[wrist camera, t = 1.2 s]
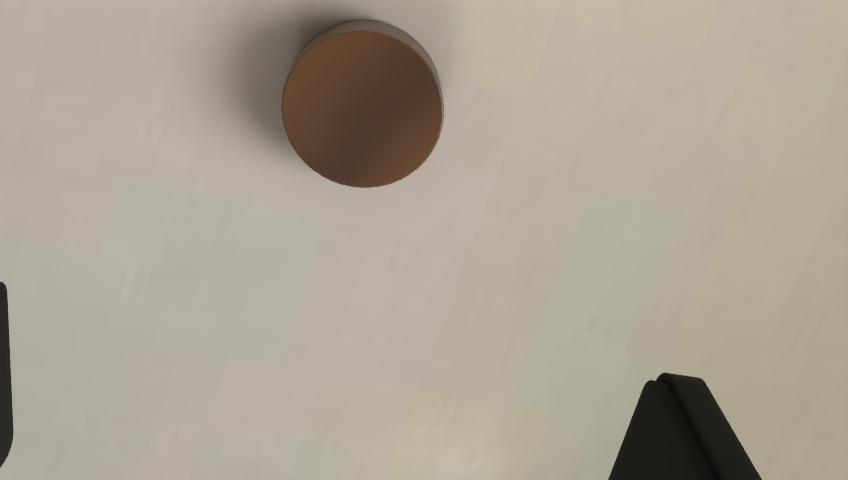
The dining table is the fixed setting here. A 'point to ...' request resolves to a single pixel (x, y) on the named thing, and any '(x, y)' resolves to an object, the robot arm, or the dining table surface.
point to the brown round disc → (363, 104)
